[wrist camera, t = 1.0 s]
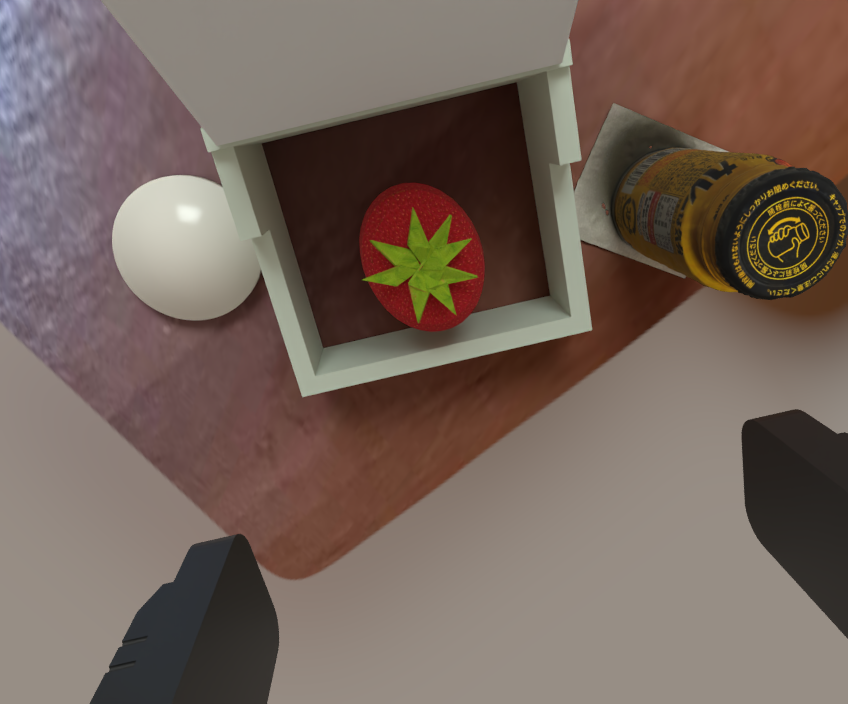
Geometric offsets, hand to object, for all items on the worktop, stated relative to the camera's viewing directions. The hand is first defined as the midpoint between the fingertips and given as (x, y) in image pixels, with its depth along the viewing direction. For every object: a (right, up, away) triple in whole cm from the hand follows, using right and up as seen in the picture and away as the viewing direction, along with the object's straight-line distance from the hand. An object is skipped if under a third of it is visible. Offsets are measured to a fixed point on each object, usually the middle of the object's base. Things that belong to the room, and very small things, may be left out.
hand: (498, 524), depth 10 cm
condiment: (+12, +12, +26) cm, 30 cm away
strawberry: (-2, +9, +26) cm, 27 cm away
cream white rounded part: (-14, +9, +25) cm, 30 cm away
